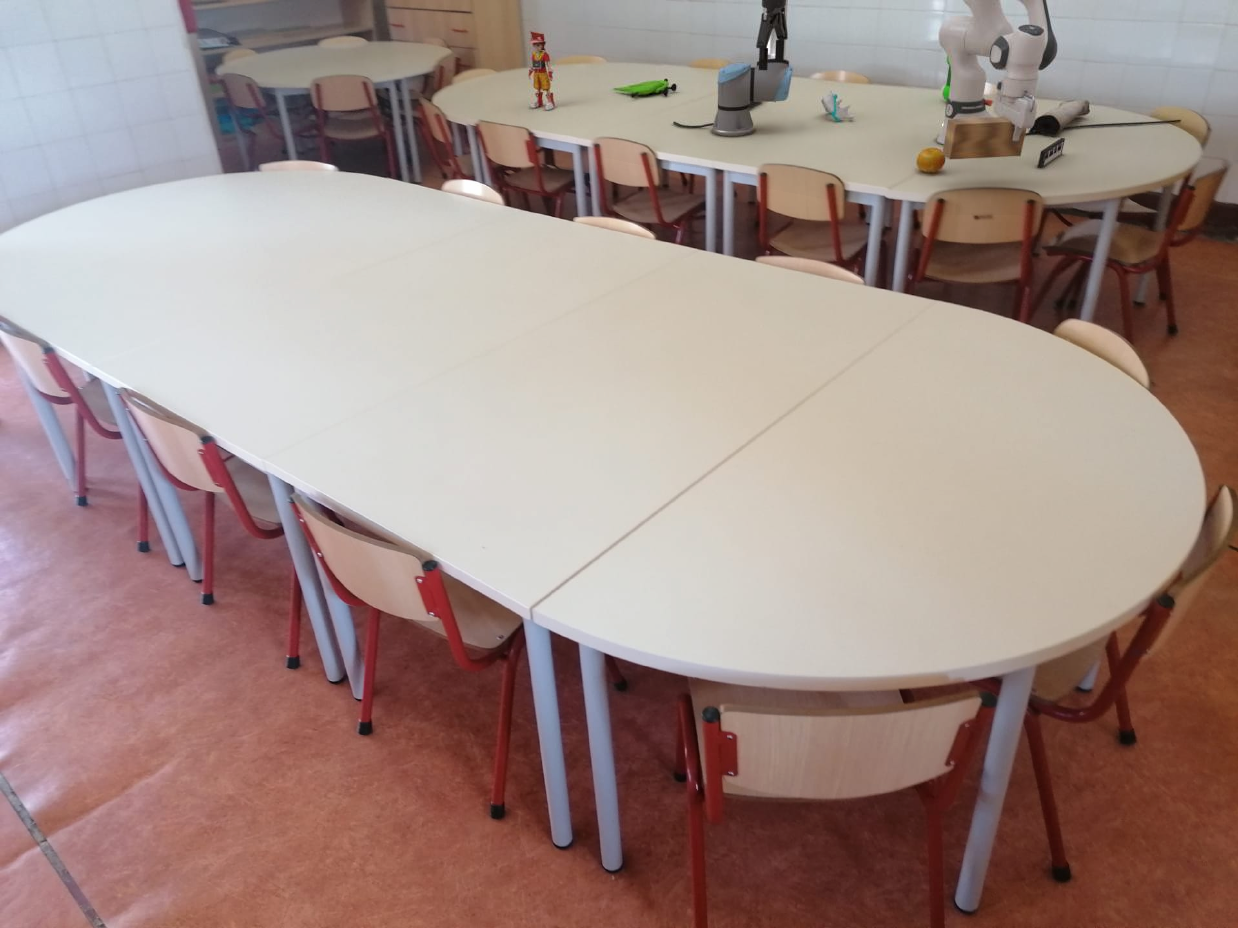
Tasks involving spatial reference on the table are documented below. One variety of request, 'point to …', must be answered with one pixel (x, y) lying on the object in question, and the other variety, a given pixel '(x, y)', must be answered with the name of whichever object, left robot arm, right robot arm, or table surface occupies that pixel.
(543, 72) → the toy
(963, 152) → the box
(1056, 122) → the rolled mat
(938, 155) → the fruit
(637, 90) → the toy
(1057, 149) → the midi keyboard
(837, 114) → the anatomical model
